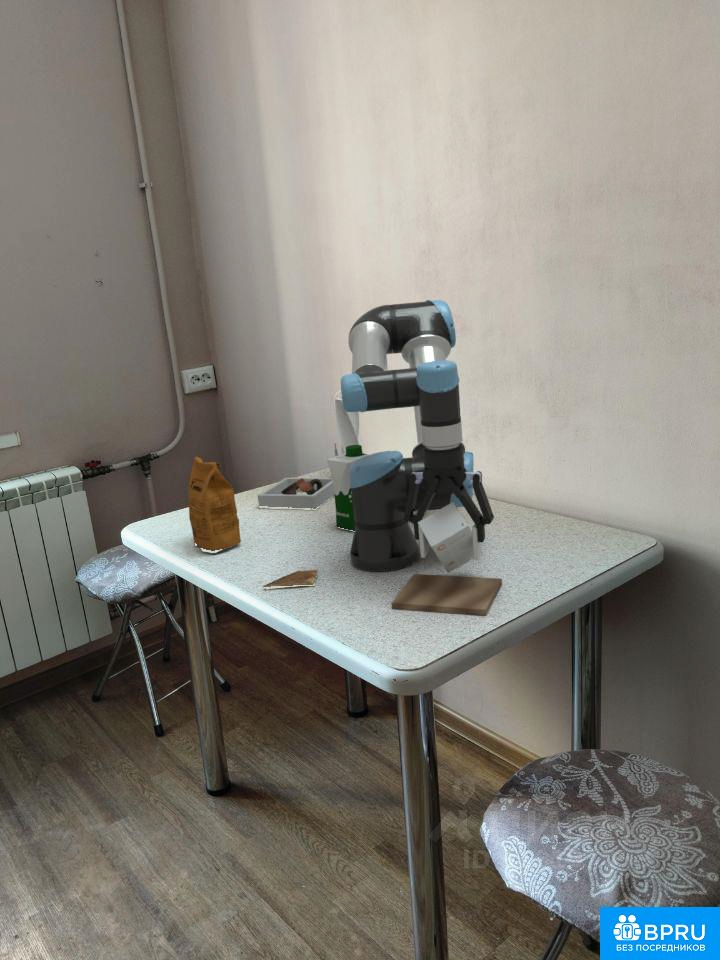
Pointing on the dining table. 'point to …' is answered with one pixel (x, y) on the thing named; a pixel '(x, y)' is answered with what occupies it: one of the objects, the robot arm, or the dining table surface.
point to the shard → (296, 579)
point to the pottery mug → (303, 487)
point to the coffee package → (212, 508)
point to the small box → (449, 536)
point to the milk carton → (344, 485)
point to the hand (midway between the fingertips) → (451, 556)
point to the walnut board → (448, 594)
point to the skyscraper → (346, 425)
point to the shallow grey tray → (277, 499)
